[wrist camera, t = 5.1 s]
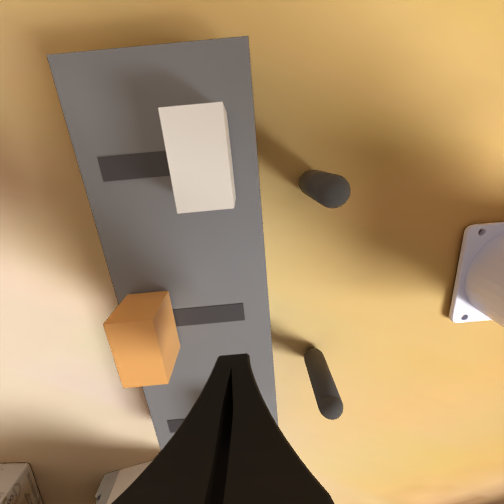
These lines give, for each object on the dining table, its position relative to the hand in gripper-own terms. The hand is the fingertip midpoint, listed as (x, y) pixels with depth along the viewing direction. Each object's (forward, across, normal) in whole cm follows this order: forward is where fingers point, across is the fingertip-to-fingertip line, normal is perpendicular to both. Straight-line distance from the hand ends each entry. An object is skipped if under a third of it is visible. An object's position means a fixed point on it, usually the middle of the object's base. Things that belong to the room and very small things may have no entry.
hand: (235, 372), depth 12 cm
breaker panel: (+9, +3, 0) cm, 9 cm away
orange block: (+5, +5, 0) cm, 7 cm away
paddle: (+5, +1, -9) cm, 10 cm away
